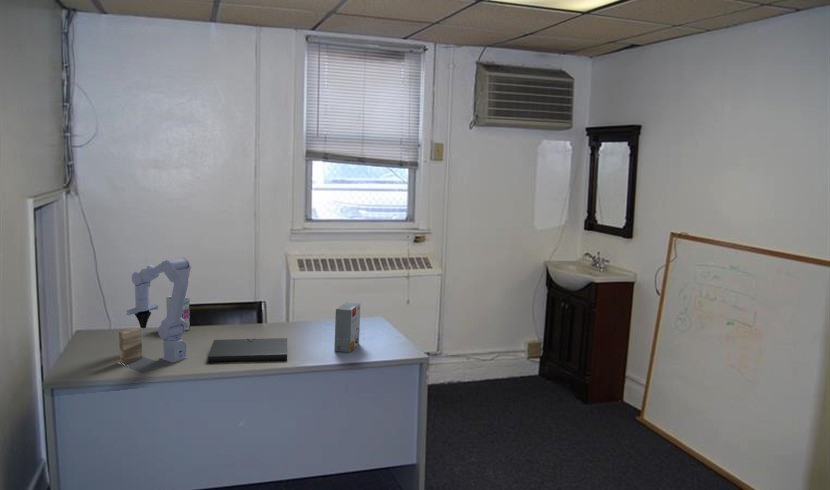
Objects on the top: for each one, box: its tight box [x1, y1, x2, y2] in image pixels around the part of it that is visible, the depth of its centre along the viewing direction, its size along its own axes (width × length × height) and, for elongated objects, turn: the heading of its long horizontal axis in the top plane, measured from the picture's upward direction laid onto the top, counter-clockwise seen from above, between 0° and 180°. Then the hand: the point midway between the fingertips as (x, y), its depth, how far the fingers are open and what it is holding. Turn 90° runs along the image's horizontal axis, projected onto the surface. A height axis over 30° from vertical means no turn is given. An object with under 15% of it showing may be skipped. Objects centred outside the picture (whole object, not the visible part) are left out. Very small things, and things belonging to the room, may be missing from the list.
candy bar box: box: [166, 295, 191, 332], centre depth 325 cm, size 11×5×16 cm, turn 62°
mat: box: [120, 355, 169, 374], centre depth 274 cm, size 20×12×1 cm, turn 57°
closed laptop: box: [207, 337, 288, 364], centre depth 292 cm, size 33×4×24 cm
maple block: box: [118, 327, 143, 364], centre depth 276 cm, size 4×8×13 cm, turn 147°
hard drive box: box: [333, 301, 361, 353], centre depth 305 cm, size 16×8×20 cm, turn 168°
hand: (143, 327), depth 292 cm, fingers closed
